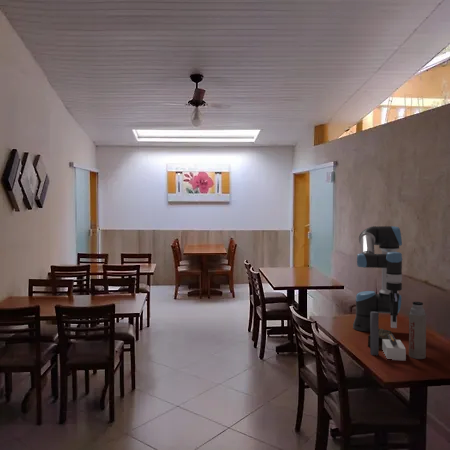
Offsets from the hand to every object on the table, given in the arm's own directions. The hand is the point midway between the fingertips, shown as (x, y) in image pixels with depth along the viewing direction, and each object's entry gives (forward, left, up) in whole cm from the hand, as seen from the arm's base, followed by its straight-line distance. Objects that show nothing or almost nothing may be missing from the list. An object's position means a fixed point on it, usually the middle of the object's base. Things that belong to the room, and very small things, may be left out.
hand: (393, 327), depth 232 cm
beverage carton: (-20, -4, -15) cm, 25 cm away
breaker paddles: (0, 0, -8) cm, 8 cm away
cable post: (0, -9, -15) cm, 17 cm away
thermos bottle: (0, +12, -15) cm, 19 cm away
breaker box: (0, 0, -15) cm, 15 cm away
